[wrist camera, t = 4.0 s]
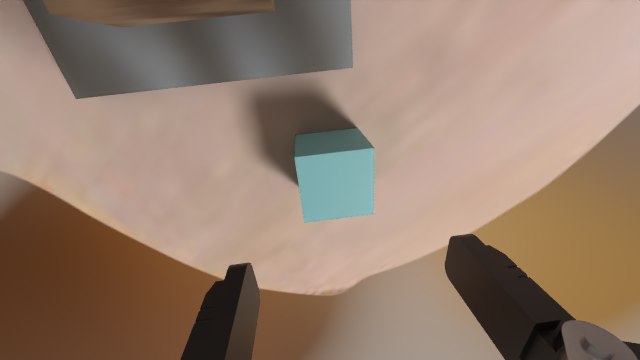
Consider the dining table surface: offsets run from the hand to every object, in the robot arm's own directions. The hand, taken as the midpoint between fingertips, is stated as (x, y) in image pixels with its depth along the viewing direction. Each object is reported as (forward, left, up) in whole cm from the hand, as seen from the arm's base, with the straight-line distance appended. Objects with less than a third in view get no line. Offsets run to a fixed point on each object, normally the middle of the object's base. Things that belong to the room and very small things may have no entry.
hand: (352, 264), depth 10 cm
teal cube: (0, 0, -12) cm, 12 cm away
